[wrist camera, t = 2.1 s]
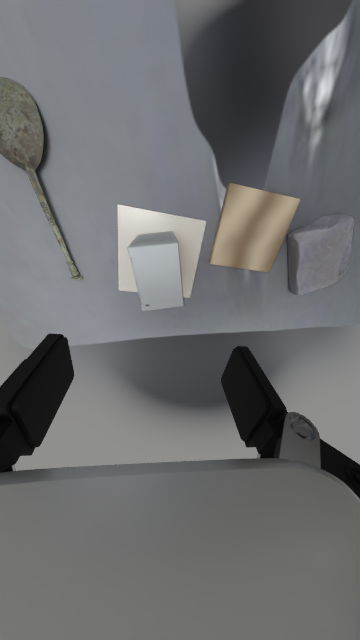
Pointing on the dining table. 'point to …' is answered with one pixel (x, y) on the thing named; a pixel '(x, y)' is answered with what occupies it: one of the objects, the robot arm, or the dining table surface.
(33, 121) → the soupspoon
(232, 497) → the robot arm
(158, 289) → the small box
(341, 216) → the stone block
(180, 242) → the cream tile
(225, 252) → the wooden board
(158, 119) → the dining table surface
